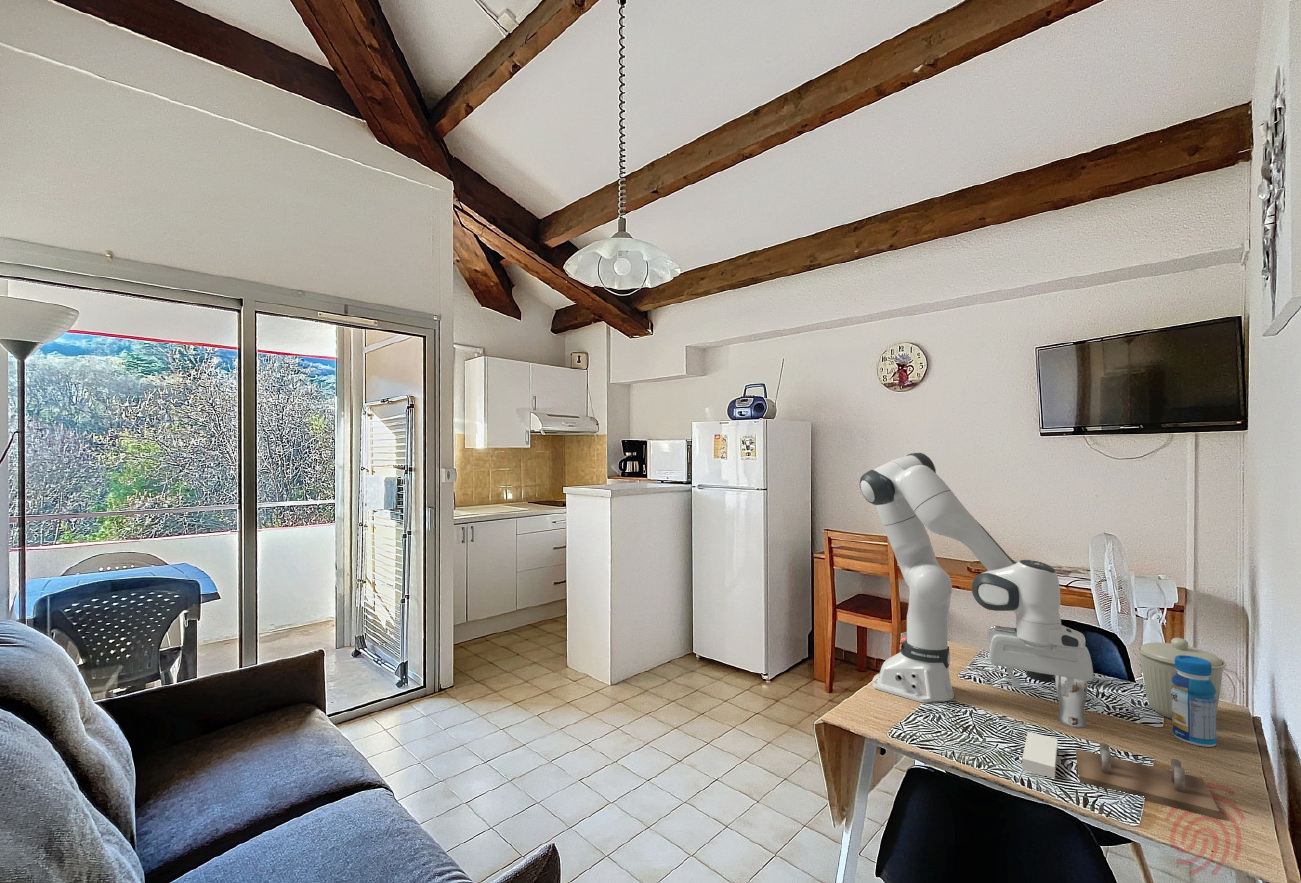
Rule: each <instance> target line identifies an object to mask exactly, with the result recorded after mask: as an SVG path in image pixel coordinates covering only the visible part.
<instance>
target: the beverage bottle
mask: <svg viewBox="0 0 1301 883" xmlns="http://www.w3.org/2000/svg"><path fill="white" fill-rule="evenodd" d="M1175 668H1176V670H1177V671H1178V672H1177V673H1176V674H1175V675H1174V677H1173V678H1172V681H1171V684H1172V685H1173V688H1172V690H1171V697H1172V719H1171V722H1172V727H1171V733H1172V735H1173V736H1174V737H1175V738H1176V739H1178V740H1181V741H1182V742H1184V743H1187V744H1190V745H1194V746H1196V747H1197V746H1199V747H1206V748H1212V747H1215V746H1217V744H1218V740H1217V713H1216V706H1217V700H1216V698H1215V696H1214V695H1215V693H1216V689H1215V687H1214V685H1213V683H1212V682H1211V680H1210V679H1209V678H1208V677H1210V676H1211V674H1212V665H1211V663H1210V662H1209V661H1207V660H1205V659H1202V658H1198V657H1193V656H1186V655H1178V656H1176V657H1175Z"/></svg>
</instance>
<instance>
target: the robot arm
mask: <svg viewBox="0 0 1301 883" xmlns="http://www.w3.org/2000/svg"><path fill="white" fill-rule="evenodd" d="M859 489H860V492H861V494H862V496H863V498H864V499H865V500H866V501H867V502H868V503H870V504H872V505H874V506H875V508H876V513H877V514H878V518H879V521H880V523H881V526H882V527H883V528H882V529H883V531H884V533H885V535H886V537H887V539H888V542H889V544H890V546H891V549H892V551H893V554H894V556H895V559H896V562H897V565H898V567H899V570H900V571H901V574H902V577H903V580H904V582H905V584H906V585H907V587H908V588H909V590H908V591H909V596H908V598H909V599H908V600H909V601H908V608H907V614H906V637H902V638H901V640H900V641H899V642H900V643H899V652H898V653H896V654H894V655H893V656H891V657H889V658H887V659H886V660H885V661H884V662H883V663H882V665H881V667H880V671H879V673H877V674H875V675H874V677H873V678H872V681H871V685H872V688H874V689H875V690H879V691H882V692H886V693H889V694H892V695H896V696H899V697H902V698H906V699H908V700H909V699H910V700H913V701H916V702H920V703H923V704H925V703H927V704H928V703H931V702H932V703H933V702H945V701H946V702H947V701H951V700H953V699H954V697H955V692H954V690H953V687H952V682H951V677H950V676H951V675H950V670H949V669H950V665H951V660H950V659H951V657H950V656H951V652H950V646H949V645H948V622H949V612H950V607H951V606H950V604H951V597H952V591H953V584H952V580H951V576H949V573H948V572H947V571H945V570H944V569H943V567H941V566H940V564H939V561H938V560H937V557H936V554H935V551H934V549H933V546H932V542H931V539H930V536H929V533H928V532H927V529H928V530H929V531H930V532H931V533H933V534H936V535H938V536H944V537H945V538H946V537H947V538H950V539H953V540H956V541H957V542H960V543H961V544H964V546H966V547H967V548H968V549H969V550H970V551H971V553H972V554H973V555H974V556H975V557H976V558H977V559H978V561H979V562H980V564H982V566H983V567H984V568H985V569H986V571H984V572H981V573H979V574H978V575H976V576H975V577H974V579H973V580H972V583H971V593H972V596H973V597H974V598H973V599H974V600H975V601H976V602H977V603H978V605H979V606H981V607H983V608H984V609H985V610H988V611H996V612H1006V611H1007V612H1008V611H1009V612H1010V611H1011V612H1013V613H1014V614H1015V627H1009V626H1000V625H994V626H992V627H989V628H988V630H987V635H986V636H987V640H988V642H989V643H990V646H989V655H988V657H989V658H988V660H989V662H990V663H991V664H992V665H993V666H998V667H1004V668H1006V673H1007V675H1008V677H1009V678H1010V679H1011V686H1012V687H1013V688H1019V689H1020V678H1018V677H1016V676H1015V675H1014V669H1016V670H1022V671H1025V672H1026V671H1032V672H1038V673H1044V674H1050V675H1053V676H1055V675H1056V676H1061V677H1066V679H1067V682H1068V683H1067V684H1066V685H1065V686H1061V696H1066V697H1069V691H1068V690H1069V689H1070V688H1071V687H1072V686H1073V684H1074V679H1079V680H1085V681H1088V682H1090V681H1091V680H1093V679H1094V678H1095V677H1094V676H1095V675H1094V668H1093V662H1092V659H1091V658H1092V657H1091V654H1090V652H1089V649H1088V647H1087V646H1086V637H1085V635H1084V634H1083V633H1082V632H1080V631H1078V630H1075V629H1072V628H1070V627H1067V626H1065V625H1063V624H1062V618H1061V616H1060V613H1059V612H1060V611H1059V610H1060V606H1061V589H1060V588H1061V587H1060V582H1059V576H1058V573H1057V571H1056V569H1055V568H1054V567H1052V566H1051V565H1049V564H1047V563H1045V562H1041V561H1038V560H1030V559H1022V560H1021V559H1020V560H1019V561H1017V562H1016V561H1015V560H1014V559H1013V558H1012V557H1010V556H1009V554H1008V553H1006V551H1005V550H1004V549H1003V548H1002V547H1001V546H1000V545H999V543H998V542H997V541H996V540H995V539H994V538H993V536H991V534H990V533H989V532H988V531H987V529H986V528H984V527H983V526H982V524H980V523H979V521H977V520H976V518H975V517H974V516H973V515H972V514H971V513H970V512H969V510H968V509H967V508H966V506H964V504H963V503H962V502H961V500H959V498H958V497H957V496H956V495H955V493H954V491H952V489H951V488H950V487H949V485H947V483H946V482H945V481H944V480H943V479H942V478H941V477H940V476H939V475H938V474H937V471H936V467H935V464H934V462H933V460H932V459H931V458H930V457H929V456H928V455H926V454H924V453H923V452H912V453H908V454H907V455H905V456H904V455H903V456H900V457H898V458H897V457H896V458H893V459H892V460H889V461H887V462H886V463H883V464H881V465H879V466H878V467H875V468H874V469H870V470H868V471H867V472H864V473H863V474H862V475H861V476H860V479H859ZM879 677H880V678H879ZM876 679H878V680H877V681H875V682H873V681H874V680H876Z"/></svg>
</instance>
